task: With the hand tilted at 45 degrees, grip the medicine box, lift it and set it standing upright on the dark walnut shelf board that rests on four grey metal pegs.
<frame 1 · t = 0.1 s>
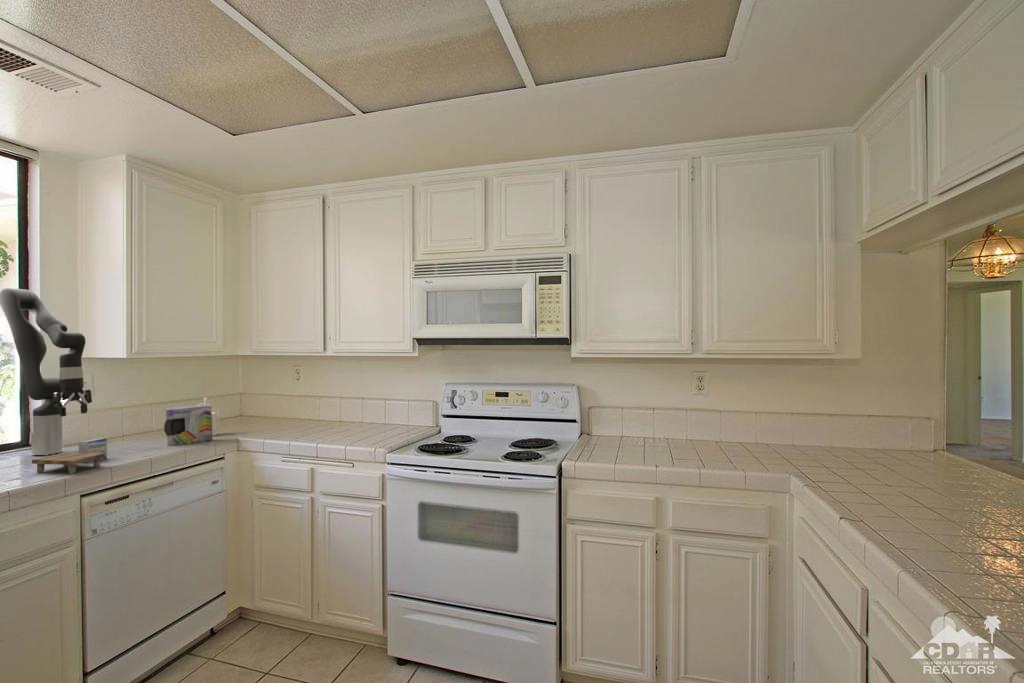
hand: (73, 414, 205), 17 cm above the countertop, tool pointing down, fingers open, 8 cm apart
walnut shelf: (69, 469, 180), on the countertop
medicine box: (93, 461, 194), on the countertop
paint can: (207, 435, 246), on the countertop
cake pan box: (189, 443, 228), on the countertop
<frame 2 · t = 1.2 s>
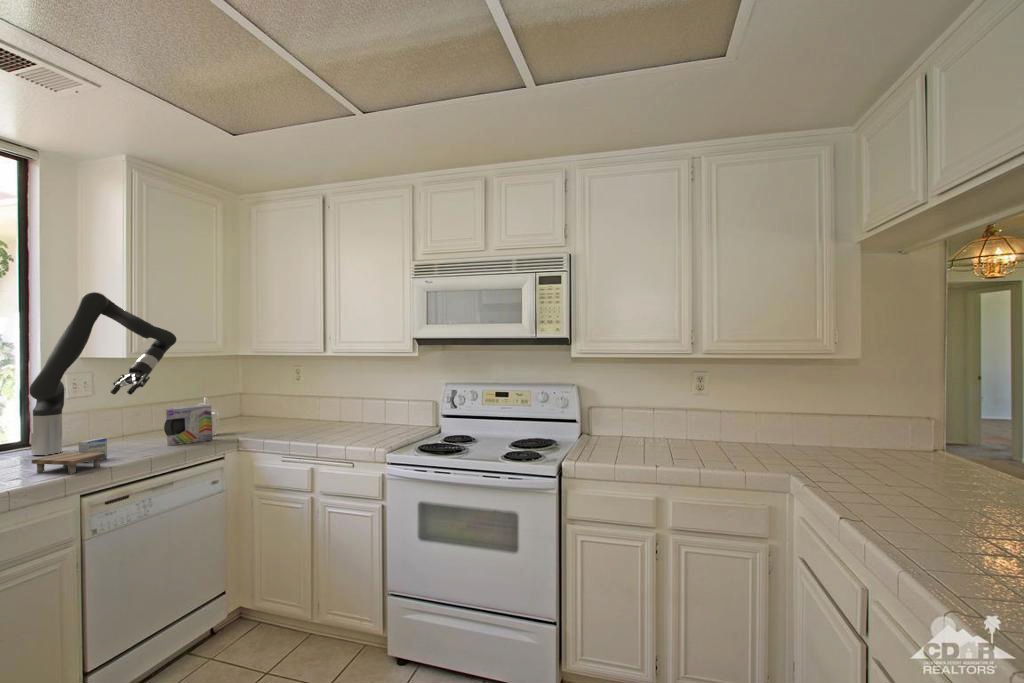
hand: (120, 393, 209), 26 cm above the countertop, tool tilted 45°, fingers open, 8 cm apart
nothing on the countertop moved.
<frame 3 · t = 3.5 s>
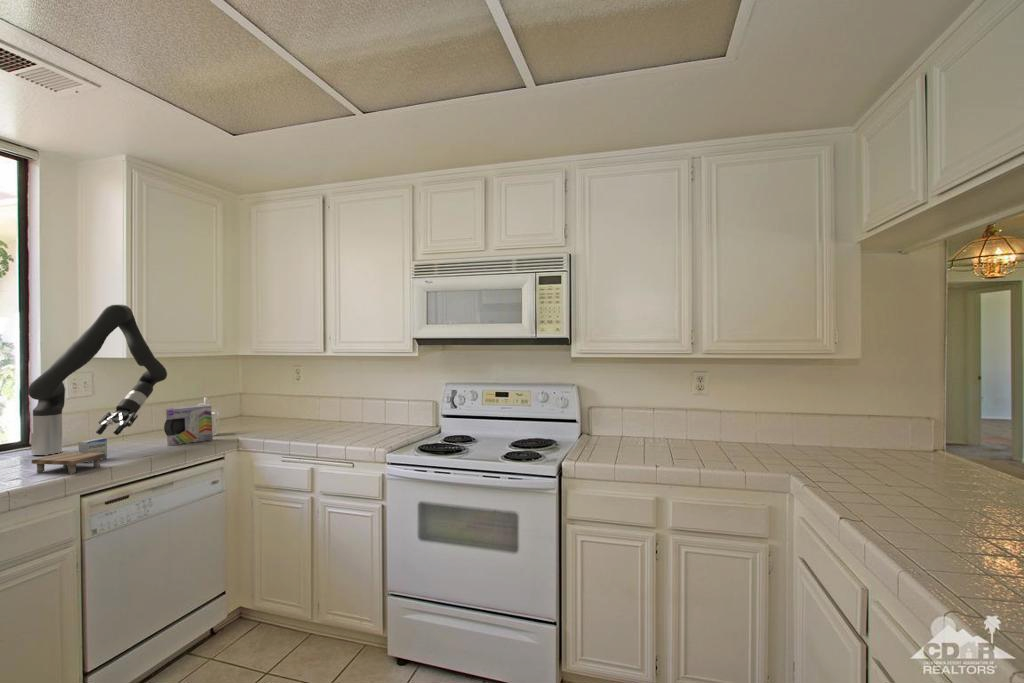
hand: (106, 433, 200), 10 cm above the countertop, tool tilted 45°, fingers open, 8 cm apart
nothing on the countertop moved.
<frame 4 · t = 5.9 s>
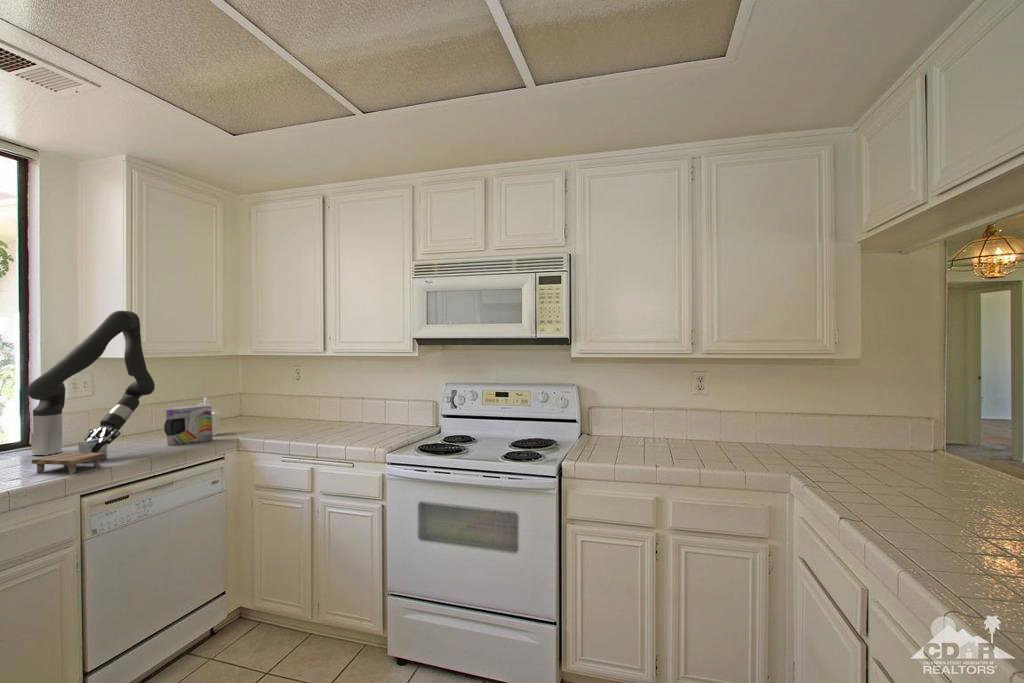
hand: (88, 451, 192), 4 cm above the countertop, tool tilted 45°, fingers closed on medicine box, 4 cm apart
medicine box: (93, 461, 194), on the countertop, touching gripper
everything else where it was.
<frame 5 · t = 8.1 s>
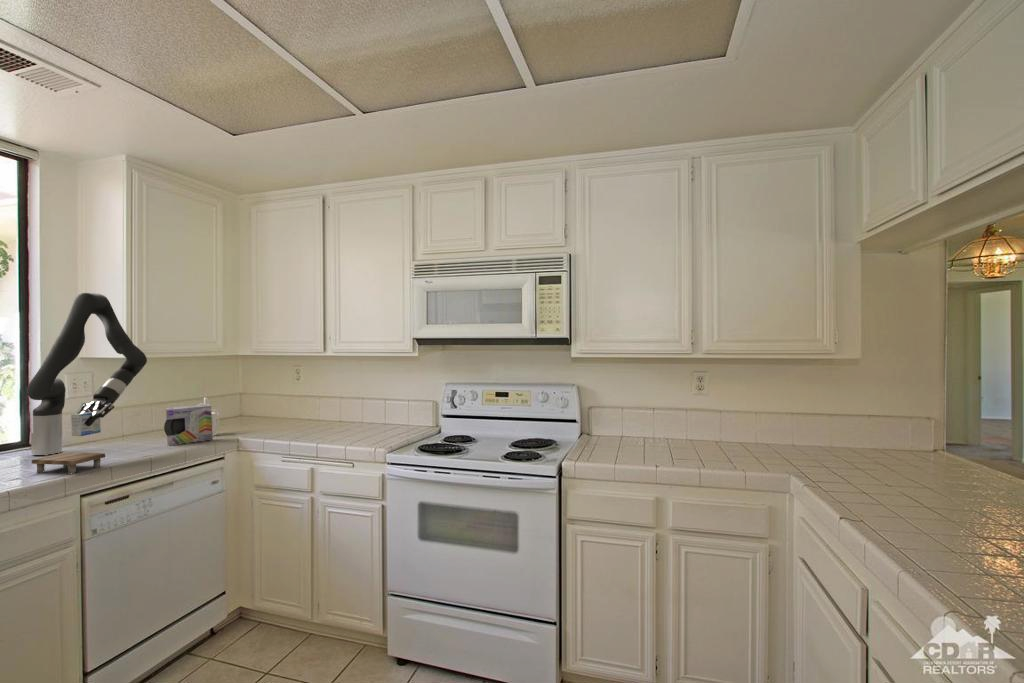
hand: (81, 424, 187), 16 cm above the countertop, tool tilted 45°, fingers closed on medicine box, 4 cm apart
medicine box: (86, 434, 189), point 12 cm above the countertop, touching gripper
everything else where it was.
when the fingers open (10 cm above the countertop, at t = 10.4 s): medicine box stays where it is, resting on walnut shelf.
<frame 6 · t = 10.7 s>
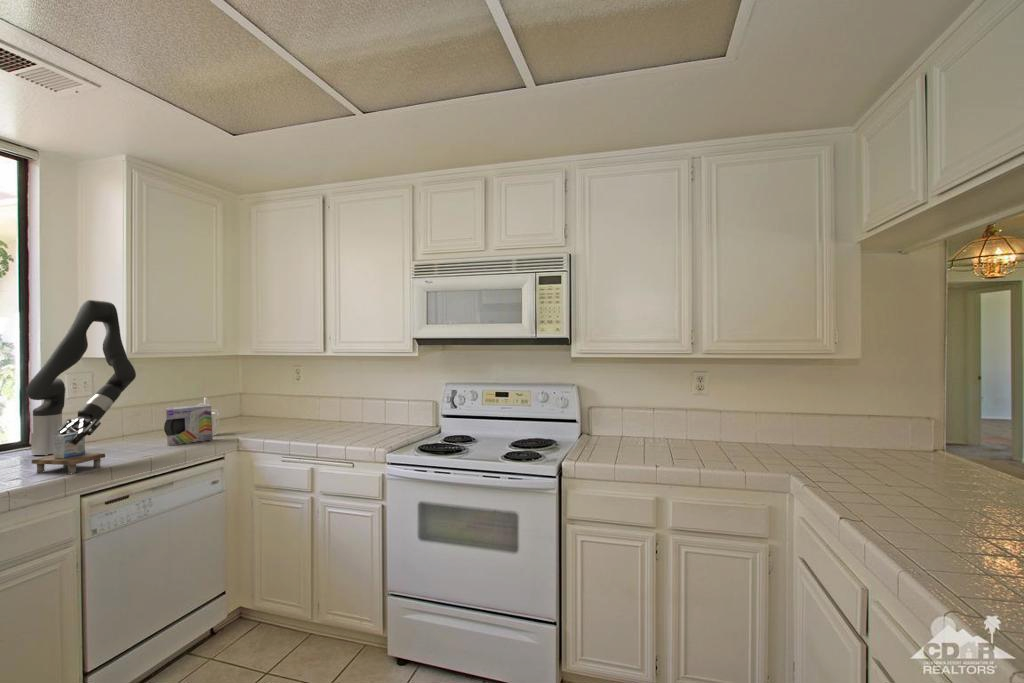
hand: (64, 443, 179), 10 cm above the countertop, tool tilted 45°, fingers open, 7 cm apart
medicine box: (69, 456, 181), point 5 cm above the countertop, touching walnut shelf
everything else where it was.
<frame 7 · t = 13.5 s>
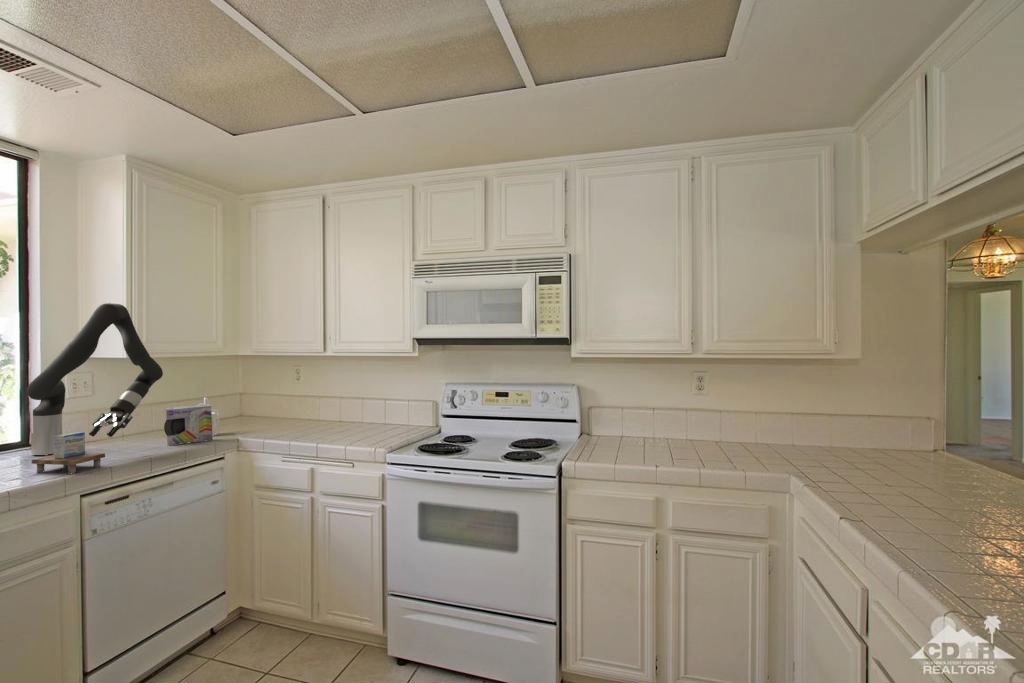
hand: (99, 435, 192), 11 cm above the countertop, tool tilted 45°, fingers open, 8 cm apart
nothing on the countertop moved.
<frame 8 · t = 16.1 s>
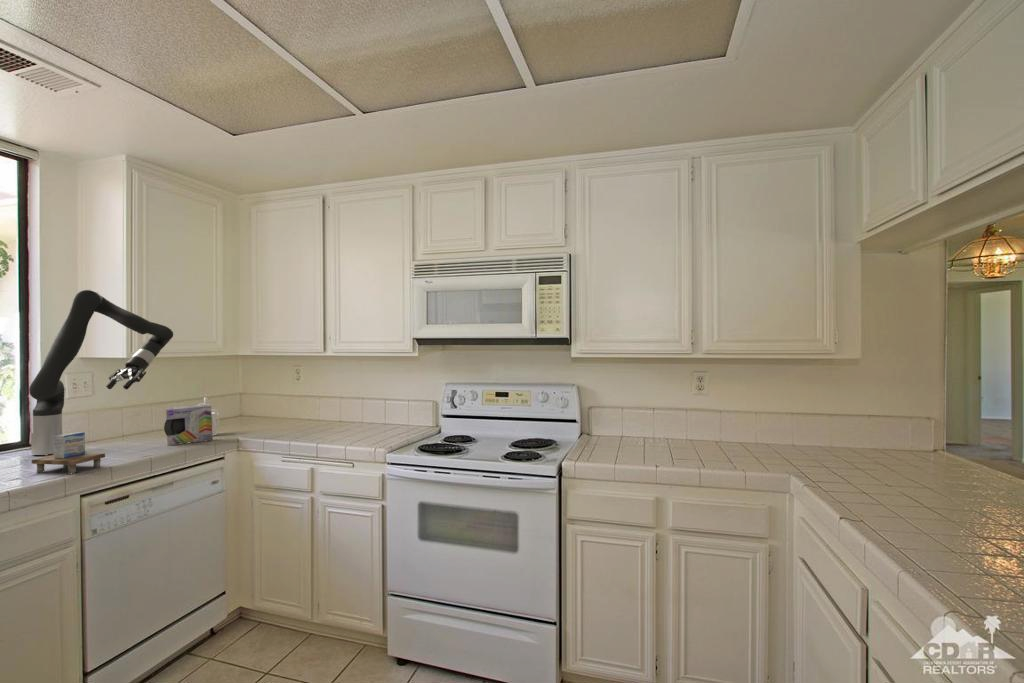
hand: (116, 388, 207), 29 cm above the countertop, tool tilted 45°, fingers open, 8 cm apart
nothing on the countertop moved.
at the end: medicine box inside the target area on the walnut shelf (0.2 cm from its centre), point 4.8 cm above the walnut shelf's base; medicine box tilted 0°; the gripper is holding nothing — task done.
